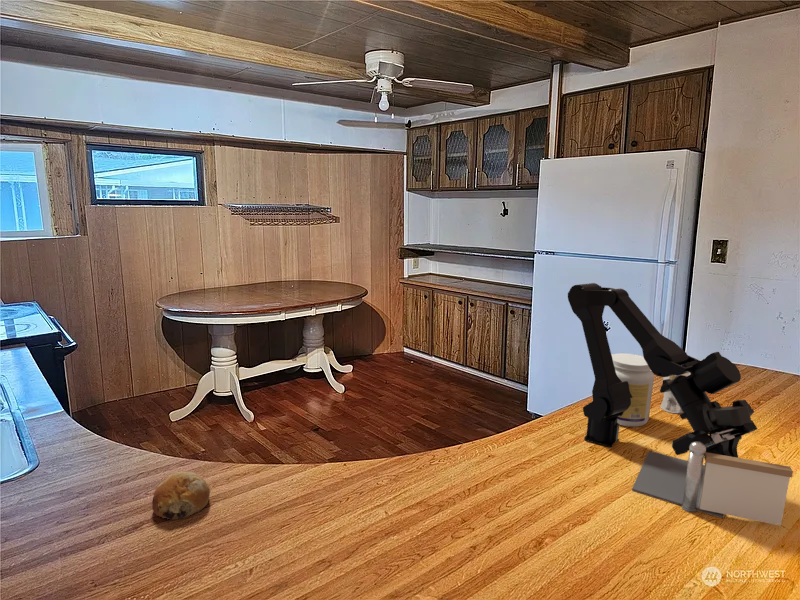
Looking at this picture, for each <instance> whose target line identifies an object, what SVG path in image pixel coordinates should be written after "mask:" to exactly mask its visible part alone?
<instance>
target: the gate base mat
mask: <svg viewBox="0 0 800 600" xmlns="http://www.w3.org/2000/svg"><path fill="white" fill-rule="evenodd" d="M642 463H643V464H642V465H641V468H640V470H639V473H638V474H637V477H636V479H635V481H634V484H633V486H632V489H631V491H632V492H637V493H639V494H641V495H646V496H648V497H652V498H655V499H659V500H662V501H665V502H668V503H671V504H675V505H678V506H681V507H682V501H683V494H684V487H685V480H686V473H687V466H688V460H686V459H681V458H678V457H674V456H670V455H667V454H663V453H658V452H656V451H652V450H648V452H647V455H646V457H645V459H644V462H642ZM704 467H705V464H703V466H702V473H701V479H700V486H699V493H698V499H697V506H696V511H697V512H701V513H704V514H707V515H711V516H714V517H717V518H720V519H724V516H725V514H722V513H717V512H712V511H707V510H702V509H700V508H699V500H700V494H701V487H702V480H703V474H704Z"/></svg>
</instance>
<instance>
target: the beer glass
mask: <svg viewBox="0 0 800 600" xmlns="http://www.w3.org/2000/svg"><path fill="white" fill-rule="evenodd" d="M690 374H691V373H690V372H688V373H685V374H681V375H684V376H689V375H690ZM678 376H680V375H672V376H668V377H662V381H663V380H666V379H670V380H673V379H674V378H676V377H678ZM660 408H661V409H662V411H665V412H667V413H669V414H670V413H671V414H678V415H681V414H683V411H682V410H681V408H680V406H679V404H678V403H677V401H676V399H675V397H674V396H673V394H672V392H671V391H669V392H663V398H662V401H661V404H660Z"/></svg>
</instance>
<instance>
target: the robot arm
mask: <svg viewBox="0 0 800 600" xmlns="http://www.w3.org/2000/svg"><path fill="white" fill-rule="evenodd" d="M567 300H568V303H569V305H570V308H571V310H572V312H573V313H574V315H575V316H576V317H577V318H578V319H579V320H580V322H581V326H582V330H583V334H584V337H585V341H586V346H587V351H588V354H589V359H590V363H591V366H592V371H593V376H594V383H593V387H592V390H591V394H592V401H591V402H589V403H587V404H586V405H584V406H583V407H582V412H583V416H584V417H586V418H587V426H586V427H587V428H586V434H585V436H584V438H583V441H587V442H590V443H594V444H597V445H601V446H605V447H609V448H612V447H613V445H614V444H615V443H616V442H617V441H618V440H619V433H620V426H621V425H620V424H619V423H617V420H618V416H622V415H623V413H624V411H626V410H627V409H628V408H629V406H630V405H631V399H630V398H632V395H631V393H630V391H629V384H628V382H627V381H624V382H622V381H621V380H620V379H619V378H618V376H617V375H616V371H615V367H614V363H613V359H612V351H611V348H610V343H609V340H608V336H607V332H606V327H605V324H604V320H603V315H604V311H605V308H606V307H609V309H611V311H612V312H613V313H614V315H615V316H616V317H617V319H618V320H619V321H620V322H621V323H622V324H623V326H624V327H625V328H626V329H627V331H628V332H629V333H630V335H631V336H632V337H633V338H634V340H635V341H636V342H637V343H638V344H639V346H640V348H641V350H642V356H643V357H644V359H645V361H646V363H647V364H648V366H649V368H650V370H651V371H652V373H653V375H654V376H656V377H662V378H663V377H668V376H672V375H680V376H678V377H676V378H674V379H673V380H670V379H666V380H663V379H662V384H661V386H660V389H659V392H660V393H661V394H664V392H669V391H671V392H672V394H673V396H674V397H675V399H676V401H677V403H678V404H679V406H680V408H681V410H682V411H683V413H681V414H679V417H680V418H681V420H687V422H688V423H689V425H690V427H691V428H692V430H693V431H690V432H687V433H686V434H683V435H682V436H679V437H677V438H674V439H672V443H671V448H672V449H673V451H674V453H675V455H676V456H678V455H679V456H680V455H683V454H686V453H688V451H690V450H689V445H690V444H691V443H692V442H695V441H698V442H702V443H703V444H704V445H705V447H706V452H707V453H713V454H719V455H725V456H731V457H737V458H739V454H738V446H739V442H740V440H742V438H743V436H744V435H747V434H749V433H751V432H752V433H753V432H755V431H757V430H758V426H757V425H756V424H755V423H754V421H753V420H752V418H751V416H752V415H753V414H754V413H755V411H754V409H753V408H752V406H751V405H750V404H749V403H748V401H747V400H746V399H739V400H734V401H732V405H728V406H721V404H720V403H719V401H717V400H714V401H712V400H711V399H710V397H709V395H714V394H717V393H719V392H721V391H723V390H725V389H727V388H729V387H731V386H733V385H735V384H737V383H739V382H740V381H741V379H742V376H741V372H740V369H739V367H738V366H737V365H736V364H735V363H733V362H732V361H731V360H729V358H727V357H724V356H723V355H722V354H721V353H720V352H719V351H715V352H711V353H710V354H709V355H706V357H705V358H703V359H701V360H699V359H698V358H695V357H692V356H691V355H688V353H687V352H686V350H684V349H683V348H681V347H680V346H679V345H678V344H677V343H676V342H675V341H673V340H671V339H669V338H668V337H666V336H664V335H663V334H661V333H660V332H659V331H658V329H657V328H656V327H655V326H654V324H653V323H652V322H651V321H650V320H649V319H648V317H647V316H646V315H645V313H644V312H643V311H642V310H641V308H640V307H638V305H637V304H636V303H635V301H634V300H633V299H632V298H631V297H630V295H629V292H627V290H625V289H624V288H613V287H605V286H603V287H602V285H599V284H598V283H595V282H591V283H583V284H581V283H580V284H574V285H572V286H571V287H570V288H569V291H568V292H567ZM688 372H690V373H691V374H690V375H689V376H684V375H681V374H685V373H688ZM708 394H709V395H708ZM704 456H705V454H704Z"/></svg>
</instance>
